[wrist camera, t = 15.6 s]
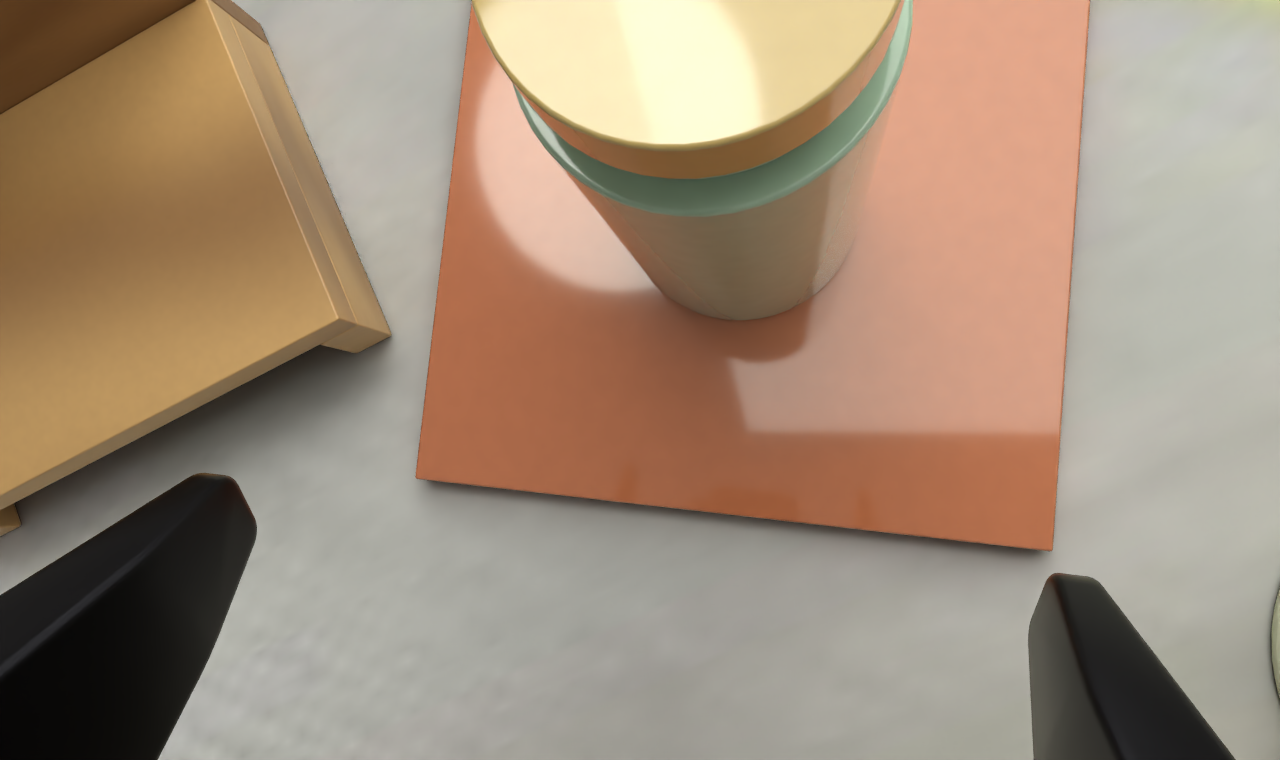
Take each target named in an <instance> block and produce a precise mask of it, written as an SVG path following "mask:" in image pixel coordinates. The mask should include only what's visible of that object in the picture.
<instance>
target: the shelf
mask: <svg viewBox="0 0 1280 760" xmlns="http://www.w3.org/2000/svg"><path fill="white" fill-rule="evenodd" d="M391 335H392V334H391V332H390V329H389V327H388V324H387V322H386V320H385V317H384V315H383V313H382V310H381V308H380V306H379V303H378V301H377V299H376V296H375V294H374V291H373V289H372V287H371V284H370V282H369V280H368V277H367V275H366V273H365V270H364V268H363V265H362V263H361V261H360V258H359V256H358V254H357V251H356V249H355V247H354V244H353V242H352V240H351V237H350V235H349V232H348V230H347V228H346V225H345V223H344V221H343V218H342V216H341V214H340V211H339V209H338V206H337V204H336V202H335V199H334V197H333V195H332V192H331V190H330V188H329V185H328V183H327V181H326V178H325V176H324V173H323V171H322V169H321V166H320V164H319V162H318V159H317V157H316V155H315V152H314V150H313V147H312V145H311V143H310V140H309V138H308V136H307V133H306V131H305V129H304V126H303V124H302V121H301V119H300V117H299V114H298V112H297V110H296V107H295V105H294V103H293V100H292V98H291V96H290V93H289V91H288V88H287V86H286V84H285V81H284V79H283V77H282V74H281V72H280V70H279V67H278V65H277V62H276V60H275V58H274V55H273V53H272V51H271V48H270V46H269V44H268V41H267V39H266V37H265V34H264V32H263V30H262V27H261V25H260V23H258V22H257V21H256V20H255V19H253V18H252V17H251V16H250V15H248V14H247V13H246V12H245V11H244V10H242V9H241V8H240V7H239V6H237V5H236V4H235V3H234V2H232V1H231V0H0V536H2V535H4V534H6V533H8V532H10V531H12V530H14V529H16V528H18V527H19V526H20V525H21V522H20V519H19V516H18V513H17V510H16V508H15V505H14V503H15V502H17V501H19V500H21V499H23V498H25V497H26V496H28V495H30V494H32V493H34V492H36V491H38V490H40V489H42V488H44V487H46V486H48V485H50V484H52V483H53V482H55V481H57V480H59V479H61V478H63V477H65V476H67V475H69V474H71V473H73V472H75V471H77V470H79V469H80V468H82V467H84V466H86V465H88V464H90V463H92V462H94V461H96V460H98V459H100V458H102V457H104V456H106V455H107V454H109V453H111V452H113V451H115V450H117V449H119V448H121V447H123V446H125V445H127V444H129V443H131V442H133V441H134V440H136V439H138V438H140V437H142V436H144V435H146V434H148V433H150V432H152V431H154V430H156V429H158V428H160V427H161V426H163V425H165V424H167V423H169V422H171V421H173V420H175V419H177V418H179V417H181V416H183V415H185V414H187V413H188V412H190V411H192V410H194V409H196V408H198V407H200V406H202V405H204V404H206V403H208V402H210V401H212V400H214V399H215V398H217V397H219V396H221V395H223V394H225V393H227V392H229V391H231V390H233V389H235V388H237V387H239V386H240V385H242V384H244V383H246V382H248V381H250V380H252V379H254V378H256V377H258V376H260V375H262V374H264V373H266V372H267V371H269V370H271V369H273V368H275V367H277V366H279V365H281V364H283V363H285V362H287V361H289V360H291V359H293V358H294V357H296V356H298V355H300V354H302V353H304V352H306V351H308V350H310V349H312V348H314V347H316V346H318V345H323V346H327V347H331V348H336V349H340V350H344V351H348V352H352V353H358V352H360V351H362V350H364V349H366V348H368V347H370V346H372V345H374V344H376V343H378V342H380V341H382V340H384V339H386V338H388V337H390V336H391Z"/></svg>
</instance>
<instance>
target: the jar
mask: <svg viewBox="0 0 1280 760" xmlns="http://www.w3.org/2000/svg"><path fill="white" fill-rule="evenodd" d="M471 1H472V6H473V9H474V12H475V15H476V18H477V21H478V24H479V27H480V30H481V33H482V35H483V37H484V38H485V40H486V42H487V44H488V46H489V48H490V50H491V52H492V54H493V56H494V58H495V59H496V61H497V62H498V63H499V65H500V66H501V68H502V69H503V70H504V72H505V73H506V75H507V76H508V78H509V79H510V80H511V82H512V84H513V87H514V90H515V93H516V96H517V99H518V102H519V105H520V108H521V110H522V111H523V113H524V115H525V117H526V119H527V121H528V123H529V125H530V127H531V129H532V131H533V132H534V133H535V135H536V136H537V138H538V139H539V141H540V142H541V143H542V145H543V146H544V148H545V149H546V150H547V152H548V153H549V154H550V155H551V157H552V158H553V159H554V160H555V162H556V163H557V164H558V165H559V167H560V168H561V169H562V170H563V172H564V173H565V174H566V175H567V177H568V178H569V179H570V180H571V181H572V183H573V184H574V185H575V186H576V188H577V189H578V190H579V191H580V193H581V194H582V195H583V196H584V198H585V199H586V200H587V201H588V203H589V204H590V205H591V206H592V208H593V209H594V210H595V211H596V213H597V214H598V215H599V216H600V217H601V219H602V220H603V221H604V222H605V224H606V225H607V226H608V227H609V229H610V230H611V231H612V232H613V234H614V235H615V236H616V237H617V239H618V240H619V241H620V242H621V244H622V245H623V246H624V247H625V248H626V250H627V251H628V252H629V253H630V255H631V256H632V257H633V258H634V260H635V261H636V262H637V263H638V265H639V266H640V267H641V268H642V270H643V271H644V272H645V273H646V275H647V276H648V277H649V278H650V279H651V281H652V282H653V283H654V284H655V285H656V286H657V287H658V288H659V289H660V290H661V291H662V292H663V293H665V294H666V295H667V296H668V297H670V298H671V299H672V300H674V301H675V302H677V303H679V304H680V305H682V306H683V307H685V308H688V309H690V310H692V311H694V312H696V313H699V314H702V315H706V316H709V317H712V318H719V319H725V320H753V319H761V318H765V317H769V316H774V315H777V314H779V313H782V312H785V311H787V310H790V309H792V308H794V307H796V306H797V305H799V304H801V303H803V302H805V301H806V300H808V299H809V298H810V297H812V296H813V295H815V294H816V293H817V292H818V291H820V290H821V289H822V288H823V287H824V286H825V285H826V284H827V283H828V282H829V281H830V280H831V279H832V278H833V276H834V275H835V274H836V273H837V272H838V270H839V269H840V267H841V266H842V264H843V263H844V261H845V260H846V258H847V256H848V254H849V252H850V250H851V248H852V246H853V244H854V241H855V238H856V235H857V231H858V228H859V225H860V221H861V217H862V214H863V210H864V207H865V203H866V200H867V196H868V192H869V189H870V185H871V182H872V178H873V175H874V171H875V167H876V164H877V160H878V157H879V153H880V149H881V146H882V142H883V139H884V135H885V132H886V128H887V124H888V121H889V117H890V114H891V110H892V106H893V103H894V99H895V96H896V92H897V89H898V85H899V81H900V78H901V74H902V71H903V67H904V63H905V60H906V56H907V53H908V48H909V42H910V37H911V31H912V25H913V0H471Z"/></svg>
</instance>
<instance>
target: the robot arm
mask: <svg viewBox="0 0 1280 760" xmlns="http://www.w3.org/2000/svg"><path fill="white" fill-rule="evenodd" d="M256 534H257V525H256V520H255V518H254V516H253V514H252V512H251V510H250V508H249V506H248V504H247V502H246V500H245V498H244V496H243V494H242V492H241V490H240V488H239V486H238V484H237V482H236V481H235V480H234V479H233V478H231V477H230V476H226V475H218V474H209V473H199V474H195V475H192V476H191V477H189V478H187V479H185V480H184V481H182V482H181V483H179V484H177V485H176V486H174V487H173V488H171V489H169V490H168V491H166V492H165V493H163V494H161V495H160V496H158V497H157V498H155V499H153V500H152V501H150V502H149V503H147V504H145V505H144V506H142V507H141V508H139V509H137V510H136V511H134V512H133V513H131V514H129V515H128V516H126V517H125V518H123V519H121V520H120V521H118V522H117V523H115V524H113V525H112V526H110V527H109V528H107V529H105V530H104V531H102V532H101V533H99V534H97V535H96V536H94V537H93V538H91V539H89V540H88V541H86V542H85V543H83V544H81V545H80V546H78V547H77V548H75V549H73V550H72V551H70V552H69V553H67V554H65V555H64V556H62V557H61V558H59V559H57V560H56V561H54V562H53V563H51V564H49V565H48V566H46V567H45V568H43V569H41V570H40V571H38V572H37V573H35V574H33V575H32V576H30V577H29V578H27V579H25V580H24V581H22V582H21V583H19V584H17V585H16V586H14V587H13V588H11V589H9V590H8V591H6V592H5V593H3V594H1V595H0V760H158V758H159V756H160V754H161V752H162V750H163V748H164V746H165V744H166V742H167V740H168V738H169V737H170V735H171V733H172V731H173V729H174V727H175V725H176V723H177V721H178V719H179V717H180V715H181V713H182V711H183V709H184V707H185V705H186V703H187V701H188V699H189V697H190V695H191V693H192V692H193V690H194V688H195V686H196V684H197V682H198V680H199V678H200V676H201V674H202V672H203V670H204V668H205V665H206V663H207V661H208V659H209V657H210V655H211V652H212V650H213V648H214V645H215V643H216V641H217V638H218V636H219V633H220V631H221V628H222V625H223V623H224V620H225V618H226V615H227V613H228V610H229V607H230V605H231V602H232V600H233V597H234V595H235V592H236V589H237V587H238V584H239V582H240V579H241V577H242V574H243V571H244V569H245V566H246V564H247V561H248V559H249V556H250V553H251V551H252V548H253V546H254V543H255V540H256ZM1028 648H1029V669H1030V690H1031V711H1032V732H1033V753H1034V760H1236V759H1235V758H1234V757H1233V756H1232V754H1231V753H1230V752H1229V750H1228V749H1227V748H1226V746H1225V745H1224V744H1223V743H1222V741H1221V740H1220V739H1219V737H1218V736H1217V735H1216V733H1215V732H1214V731H1213V729H1212V728H1211V727H1210V726H1209V724H1208V723H1207V722H1206V720H1205V719H1204V718H1203V716H1202V715H1201V714H1200V713H1199V711H1198V710H1197V709H1196V707H1195V706H1194V705H1193V703H1192V702H1191V701H1190V700H1189V698H1188V697H1187V696H1186V694H1185V693H1184V692H1183V690H1182V689H1181V688H1180V686H1179V685H1178V684H1177V683H1176V681H1175V680H1174V679H1173V677H1172V676H1171V675H1170V673H1169V672H1168V671H1167V670H1166V668H1165V667H1164V666H1163V664H1162V663H1161V662H1160V660H1159V659H1158V658H1157V656H1156V655H1155V654H1154V653H1153V651H1152V650H1151V649H1150V647H1149V646H1148V645H1147V643H1146V642H1145V641H1144V640H1143V638H1142V637H1141V636H1140V634H1139V633H1138V632H1137V630H1136V629H1135V628H1134V626H1133V625H1132V624H1131V623H1130V621H1129V620H1128V619H1127V617H1126V616H1125V615H1124V613H1123V612H1122V611H1121V610H1120V608H1119V607H1118V606H1117V604H1116V603H1115V602H1114V600H1113V599H1112V598H1111V596H1110V595H1109V594H1108V593H1107V591H1106V590H1105V589H1104V587H1103V586H1102V585H1101V584H1100V583H1099V582H1098V581H1097V580H1095V579H1093V578H1091V577H1087V576H1079V575H1070V574H1062V573H1054V574H1052V575H1051V576H1050V577H1049V578H1048V579H1047V581H1046V583H1045V585H1044V588H1043V590H1042V593H1041V596H1040V598H1039V601H1038V603H1037V606H1036V608H1035V611H1034V613H1033V616H1032V618H1031V621H1030V626H1029V634H1028Z"/></svg>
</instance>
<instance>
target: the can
mask: <svg viewBox="0 0 1280 760" xmlns="http://www.w3.org/2000/svg"><path fill="white" fill-rule="evenodd" d="M1272 663H1273V669H1274V676H1275V681H1276V686H1277V690H1278V694H1279V697H1280V588H1279V592H1278V596H1277V600H1276V603H1275V608H1274V614H1273V620H1272Z"/></svg>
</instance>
